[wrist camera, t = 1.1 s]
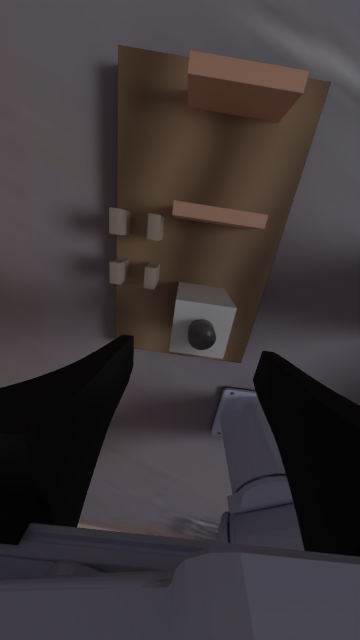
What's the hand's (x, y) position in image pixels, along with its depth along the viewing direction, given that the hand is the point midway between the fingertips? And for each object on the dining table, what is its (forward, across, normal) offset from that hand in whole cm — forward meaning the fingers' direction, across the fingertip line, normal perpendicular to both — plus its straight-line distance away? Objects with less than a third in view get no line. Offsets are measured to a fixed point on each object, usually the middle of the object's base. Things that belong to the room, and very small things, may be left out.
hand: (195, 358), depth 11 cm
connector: (+8, 0, 0) cm, 8 cm away
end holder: (+8, -1, -11) cm, 13 cm away
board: (+9, 0, -5) cm, 11 cm away
